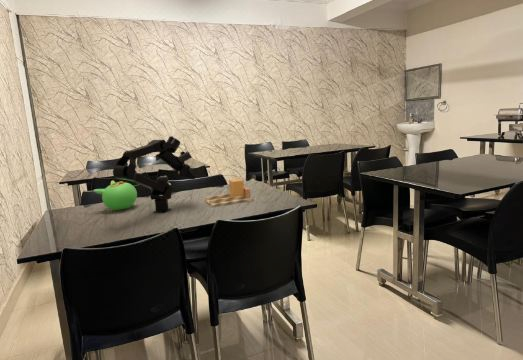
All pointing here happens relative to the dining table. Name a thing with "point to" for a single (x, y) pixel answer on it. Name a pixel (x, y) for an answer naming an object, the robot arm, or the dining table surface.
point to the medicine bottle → (164, 180)
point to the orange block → (236, 187)
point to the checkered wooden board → (225, 200)
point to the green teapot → (118, 195)
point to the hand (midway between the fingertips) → (194, 178)
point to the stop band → (247, 192)
